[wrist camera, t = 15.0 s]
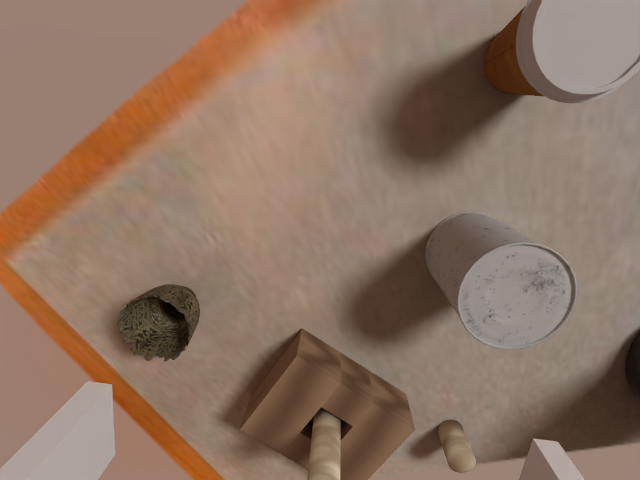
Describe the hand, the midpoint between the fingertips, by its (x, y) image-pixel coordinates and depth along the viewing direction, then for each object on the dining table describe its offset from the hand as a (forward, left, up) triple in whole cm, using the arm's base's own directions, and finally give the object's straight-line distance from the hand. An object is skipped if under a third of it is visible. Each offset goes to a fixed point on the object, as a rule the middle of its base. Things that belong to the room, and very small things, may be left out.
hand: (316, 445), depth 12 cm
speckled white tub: (-15, -6, -32) cm, 36 cm away
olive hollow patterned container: (+9, +18, -32) cm, 38 cm away
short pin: (-29, +14, -32) cm, 45 cm away
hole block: (-13, +19, -32) cm, 39 cm away
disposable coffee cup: (-6, -24, -32) cm, 40 cm away
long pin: (-13, +19, -32) cm, 39 cm away
